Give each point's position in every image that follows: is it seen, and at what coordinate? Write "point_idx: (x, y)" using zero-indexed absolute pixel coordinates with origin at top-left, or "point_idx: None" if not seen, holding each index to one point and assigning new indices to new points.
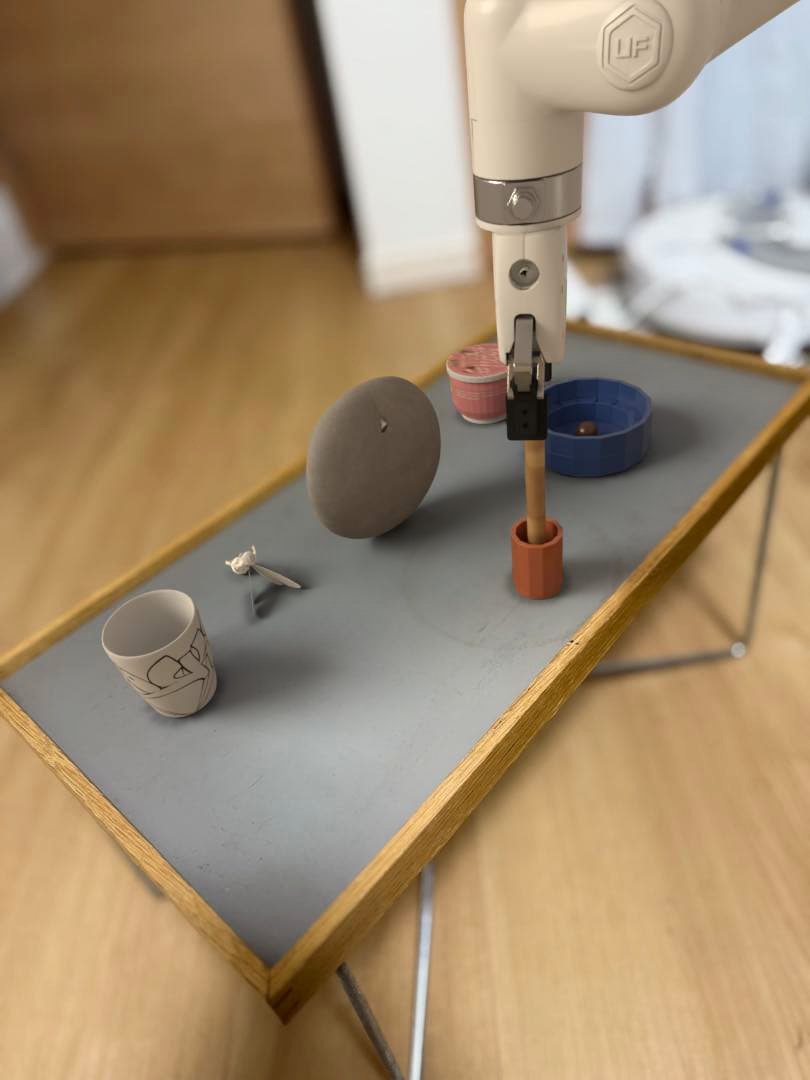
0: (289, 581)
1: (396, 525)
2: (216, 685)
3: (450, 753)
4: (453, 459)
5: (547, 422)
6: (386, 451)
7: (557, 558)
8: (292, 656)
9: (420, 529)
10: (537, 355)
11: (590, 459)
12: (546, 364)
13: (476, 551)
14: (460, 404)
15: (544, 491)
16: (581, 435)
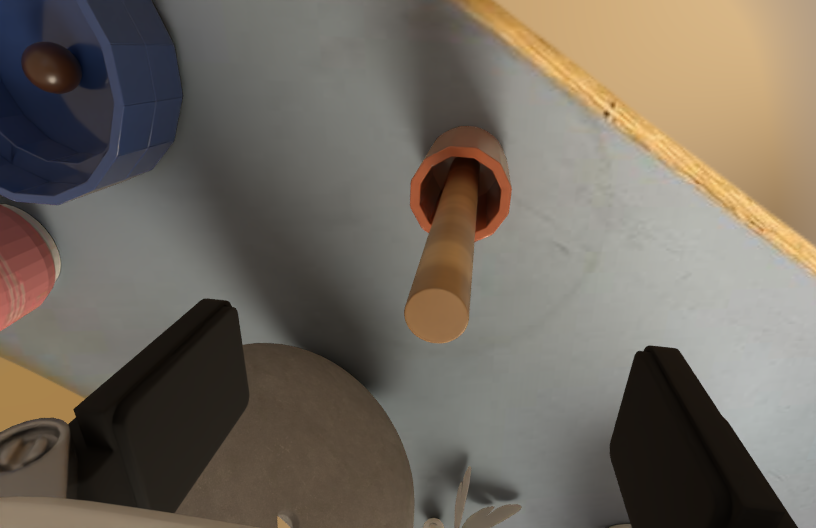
0: (467, 483)
1: (348, 373)
2: (627, 525)
3: (792, 284)
4: (167, 297)
5: (683, 383)
6: (319, 490)
7: (493, 149)
8: (586, 461)
9: (343, 336)
10: (178, 418)
11: (152, 66)
12: (197, 357)
13: (390, 259)
14: (35, 305)
15: (463, 215)
16: (68, 81)
